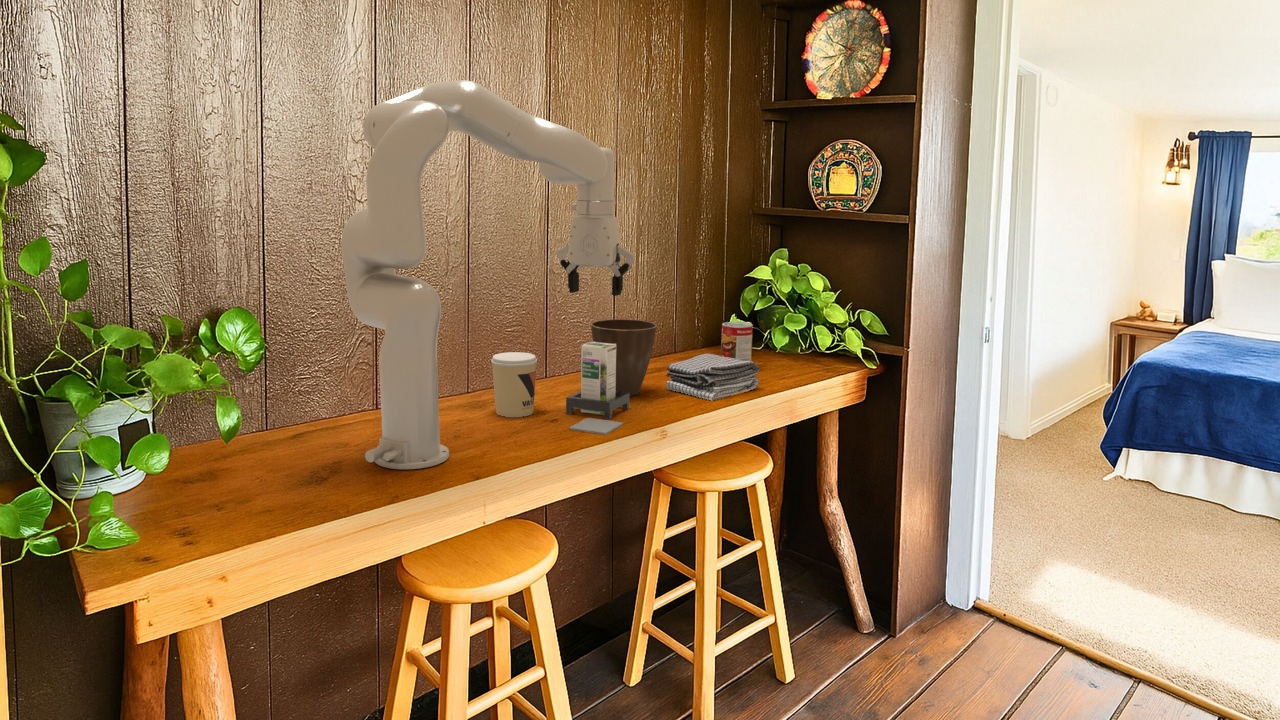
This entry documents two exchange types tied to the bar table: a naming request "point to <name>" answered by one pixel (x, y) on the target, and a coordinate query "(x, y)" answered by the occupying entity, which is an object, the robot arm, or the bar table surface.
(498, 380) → the coffee cup
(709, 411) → the bar table surface
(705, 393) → the towel
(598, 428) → the slate mat
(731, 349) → the canned food
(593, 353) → the syrup box
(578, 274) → the robot arm
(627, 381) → the plant pot
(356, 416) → the bar table surface
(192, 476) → the bar table surface
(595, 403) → the collar stand
